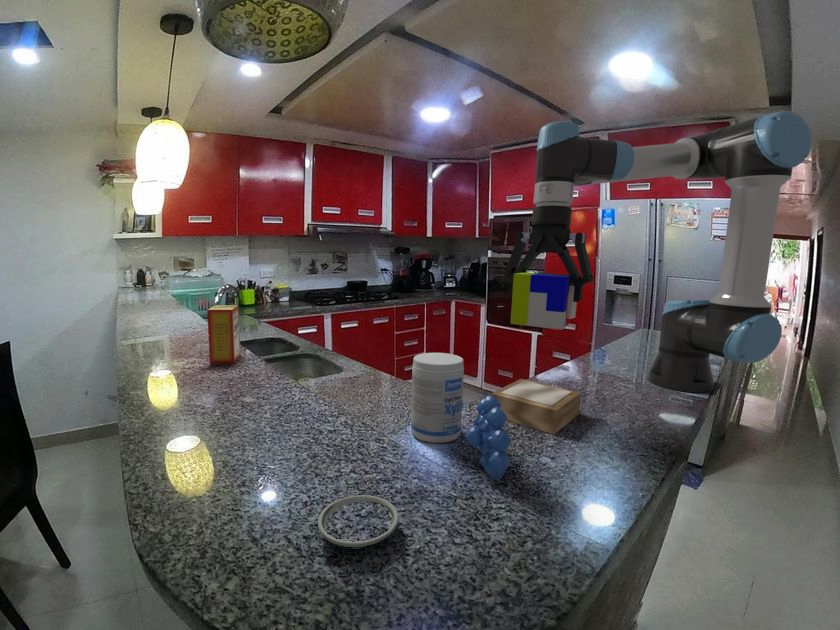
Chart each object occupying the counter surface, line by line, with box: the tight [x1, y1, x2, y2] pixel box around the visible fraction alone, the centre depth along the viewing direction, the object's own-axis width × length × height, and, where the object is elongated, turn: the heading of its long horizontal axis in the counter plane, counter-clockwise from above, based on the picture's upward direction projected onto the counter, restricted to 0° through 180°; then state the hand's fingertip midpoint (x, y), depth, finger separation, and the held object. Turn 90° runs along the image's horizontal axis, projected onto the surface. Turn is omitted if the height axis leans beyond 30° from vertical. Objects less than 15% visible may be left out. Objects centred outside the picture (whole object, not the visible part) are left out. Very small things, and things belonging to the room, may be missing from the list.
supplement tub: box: [410, 352, 465, 444], centre depth 80 cm, size 10×10×15 cm
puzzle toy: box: [509, 271, 574, 331], centre depth 87 cm, size 10×10×10 cm
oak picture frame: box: [490, 378, 582, 435], centre depth 91 cm, size 14×14×5 cm
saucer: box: [317, 494, 399, 547], centre depth 52 cm, size 10×10×2 cm
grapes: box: [464, 394, 512, 481], centre depth 67 cm, size 12×7×12 cm, turn 8°
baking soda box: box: [206, 304, 241, 365], centre depth 127 cm, size 10×6×16 cm
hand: (543, 314), depth 89 cm, fingers closed on puzzle toy, 11 cm apart
